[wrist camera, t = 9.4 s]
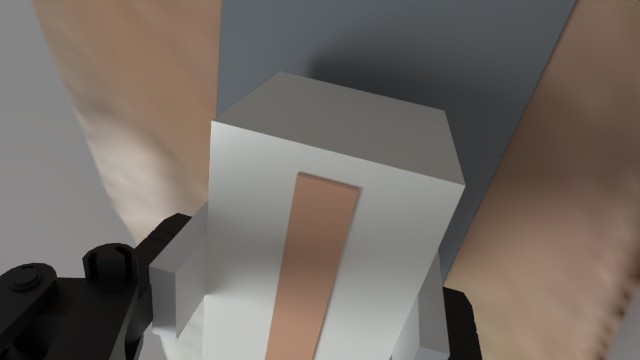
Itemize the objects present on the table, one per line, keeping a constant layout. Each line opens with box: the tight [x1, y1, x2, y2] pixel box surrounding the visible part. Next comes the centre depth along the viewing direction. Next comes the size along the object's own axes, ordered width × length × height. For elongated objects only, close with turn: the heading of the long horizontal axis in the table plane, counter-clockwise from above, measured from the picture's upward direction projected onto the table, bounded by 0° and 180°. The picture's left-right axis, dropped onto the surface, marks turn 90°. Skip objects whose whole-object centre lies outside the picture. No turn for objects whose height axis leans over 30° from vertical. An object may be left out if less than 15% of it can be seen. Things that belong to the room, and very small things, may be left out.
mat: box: [216, 0, 576, 360], centre depth 19 cm, size 24×13×1 cm, turn 169°
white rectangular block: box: [202, 71, 466, 360], centre depth 14 cm, size 10×6×6 cm, turn 169°
